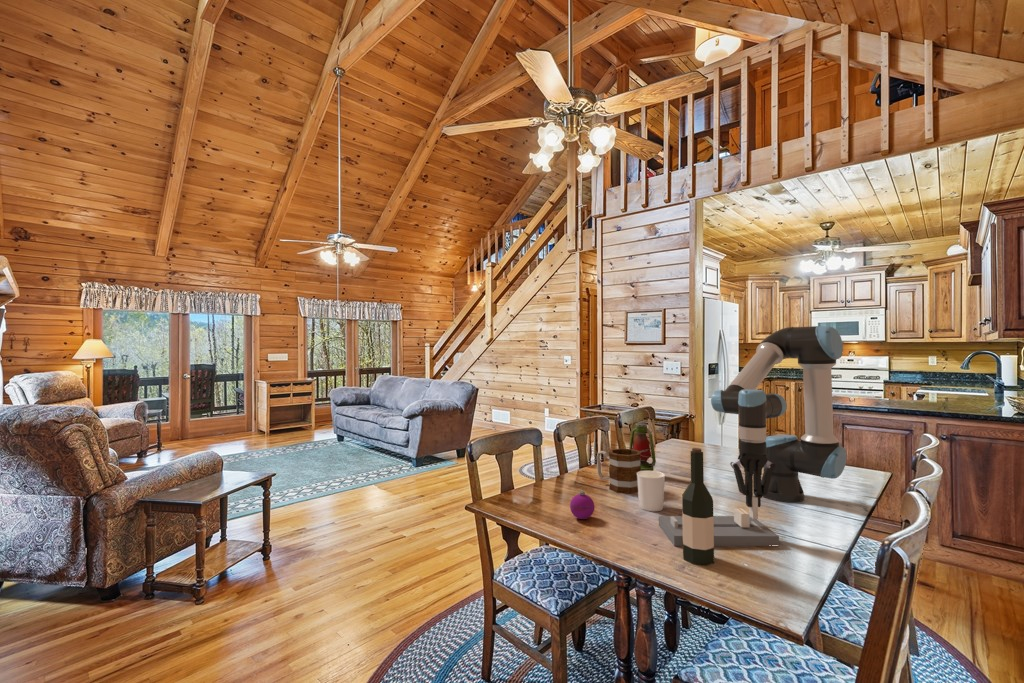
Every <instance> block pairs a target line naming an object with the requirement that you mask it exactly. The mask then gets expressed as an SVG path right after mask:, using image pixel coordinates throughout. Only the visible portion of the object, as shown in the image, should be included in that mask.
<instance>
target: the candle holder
mask: <svg viewBox="0 0 1024 683" xmlns="http://www.w3.org/2000/svg"><path fill="white" fill-rule="evenodd" d="M665 478H666V475H665V473H663V472H660V471H655V470H653V471H639V472H637V483H638V493H637V495H638V497H637V498H638V505H639V509H642V510H643V511H646V512H647V511H648V512H659V511H662V510H663V509H664V502H665V501H664V500H665V499H664V498H665V483H666V482H665V481H666V480H665Z"/></svg>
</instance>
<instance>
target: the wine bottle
mask: <svg viewBox="0 0 1024 683" xmlns="http://www.w3.org/2000/svg"><path fill="white" fill-rule="evenodd" d="M704 481H705V480H704V452H703V451H702V448H699V447H693V448H692V449H691V451H690V482H689V484H688V485H687V487H686V488H685V490H683V493H682V496H681V497H682V498H681V499H682V500H681V501H682V512H681V513H682V516H683V546H682V556H683V557H682V558H683V560H684V561H686V562H688V563H689V564H692V565H696V566H703V567H706V566H709V565H713V564H715V546H714V521H713V516H714V500H713V499H714V498H713V496H712V494H711V493H710V492H709V490H708V487H707V486H706V485H705V482H704Z"/></svg>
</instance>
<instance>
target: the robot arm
mask: <svg viewBox="0 0 1024 683" xmlns="http://www.w3.org/2000/svg"><path fill="white" fill-rule="evenodd" d="M843 344H844V343H843V340H842V336H841V334H840V332H839V330H837V329H836V328H835V327H833V326H828V325H814V326H813V325H812V326H787V327H783V328H781V329H778V330H776V331H774V332H773V333H771V334H770V335H768V336H767V337H765V338H764V339H763V340H762V341H761V342H760V343H759V344H758V345H757V347H756V350H755V354H753V356H752V357H751V358H750V360H749V361H748V362H747V363H746V364H745V365H744V367H743V368H742V369H741V370H740V372H739V373H738V374H737V376H735V377H734V379H733V380H732V381H731V382H730V384H729V385H728V386H727V387H726V389H725V390H723V389H721V390H718V389H717V390H715V391H713V392H712V394H711V398H710V404H711V406H712V409H713V410H714V411H715V412H719V413H723V414H731V415H738V438H739V440H738V452H739V454H738V456H737V459H736V460H735V461H734V462H733V461H731V462H730V466H731V468H732V469H733V471H734V472H733V473H734V475H735V479H736V484H737V488H738V491H739V493H741V494H742V495H743V496H745V505H746V506H747V507H748V513H749V516H750V517H751V518H752V519H757V520H758V519H759V508H761V503H762V502H761V500H762V499H763V497H764V498H767V499H769V500H774V501H779V502H787V503H788V502H789V503H792V502H793V503H794V502H795V503H796V502H802V501H804V500H805V492H804V490H803V487H802V484H801V481H800V478H799V473H801V474H805V475H809V476H810V475H811V476H814V477H819V478H823V479H824V478H825V479H837V478H839V477H840V476H841V475H842V474H843V472H844V470H845V467H846V465H847V464H846V463H847V451H846V448H845V447H843V446H842V445H841V446H840V441H839V439H838V438H837V437H836V436H835V435H834V413H833V412H834V411H833V383H832V380H833V378H832V368H833V367H834V366H836V365H837V360H840V358H842V356H843V351H844V346H843ZM786 359H797V364H798V366H800V367H801V369H802V379H803V380H802V381H803V405H804V409H803V410H804V432H805V433H804V434H802V436H800V440H799V438H798V436H797V435H794V434H776V435H774V434H773V435H768V436H767V420H768V419H772V418H773V419H775V418H778V417H781V416H783V415H784V414H785V413H786V412H787V409H788V404H787V401H786V398H784V397H783V396H782V395H781V394H778V393H771V392H770V393H766V391H764V390H763V389H757V388H758V387H759V386H760V385H761V383H762V382H763V381H764V380H765V378H766V377H767V376H768V374H769V373H770V372H771V370H772V369H773V368H774V366H776V365H779V364H780V363H781V362H782V361H783V360H786ZM741 467H742V468H743V472H744V476H743V473H742V470H741V469H742V468H741Z"/></svg>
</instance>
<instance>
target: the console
mask: <svg viewBox="0 0 1024 683" xmlns="http://www.w3.org/2000/svg"><path fill="white" fill-rule="evenodd" d="M713 521H714V547H756V546H769V545H771V546H772V545H779V546H780V535H778V534H776V533H775V532H774V531H773V530H772V529H770V528H769V527H768V526H766V525H765V524H764V523H762V522H761V521H760V520H758V519H752V518H751V517H750V516H749V524H750V527H740V526H739V525H738V524H737V523H736V522H735V521H734V515H713ZM658 527H659V528H660V529H661V530H662V532H663V533H664V535H666V537H667V538H668V540H669V541H670V543H671V544H672V546H674V547H683V515H659V516H658Z"/></svg>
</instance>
